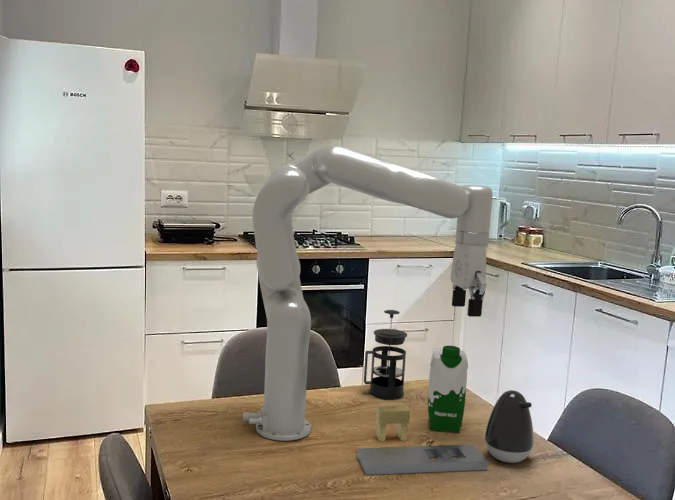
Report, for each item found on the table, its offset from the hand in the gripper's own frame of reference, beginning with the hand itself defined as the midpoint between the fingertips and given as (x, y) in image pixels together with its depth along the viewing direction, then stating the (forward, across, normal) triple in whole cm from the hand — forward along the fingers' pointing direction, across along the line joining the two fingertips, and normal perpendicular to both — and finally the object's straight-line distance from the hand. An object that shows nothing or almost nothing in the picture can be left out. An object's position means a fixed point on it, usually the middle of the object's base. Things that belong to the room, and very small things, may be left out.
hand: (466, 311), depth 158 cm
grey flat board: (+29, +18, -15) cm, 37 cm away
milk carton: (+29, -1, -3) cm, 29 cm away
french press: (+29, -23, -12) cm, 39 cm away
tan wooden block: (+29, +5, -18) cm, 34 cm away
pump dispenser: (+29, +17, +5) cm, 34 cm away
